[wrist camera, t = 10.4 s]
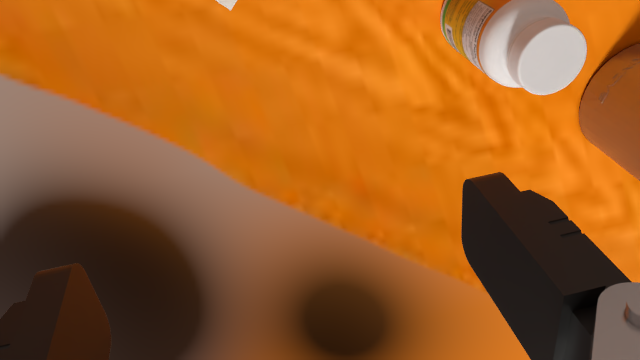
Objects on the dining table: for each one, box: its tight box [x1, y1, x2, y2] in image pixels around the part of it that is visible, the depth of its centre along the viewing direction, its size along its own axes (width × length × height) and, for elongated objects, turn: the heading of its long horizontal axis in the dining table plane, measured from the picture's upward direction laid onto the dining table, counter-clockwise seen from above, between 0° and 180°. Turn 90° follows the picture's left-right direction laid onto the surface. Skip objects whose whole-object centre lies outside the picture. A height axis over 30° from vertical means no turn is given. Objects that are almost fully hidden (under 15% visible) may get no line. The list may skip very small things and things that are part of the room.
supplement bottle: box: [440, 0, 587, 95], centre depth 33 cm, size 5×5×10 cm
